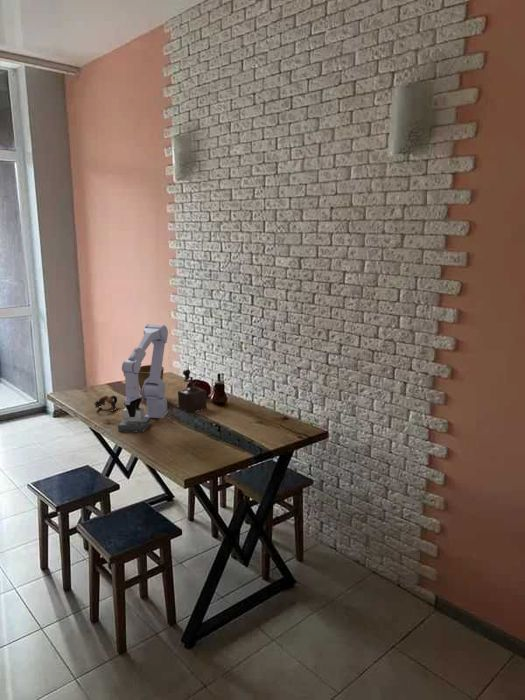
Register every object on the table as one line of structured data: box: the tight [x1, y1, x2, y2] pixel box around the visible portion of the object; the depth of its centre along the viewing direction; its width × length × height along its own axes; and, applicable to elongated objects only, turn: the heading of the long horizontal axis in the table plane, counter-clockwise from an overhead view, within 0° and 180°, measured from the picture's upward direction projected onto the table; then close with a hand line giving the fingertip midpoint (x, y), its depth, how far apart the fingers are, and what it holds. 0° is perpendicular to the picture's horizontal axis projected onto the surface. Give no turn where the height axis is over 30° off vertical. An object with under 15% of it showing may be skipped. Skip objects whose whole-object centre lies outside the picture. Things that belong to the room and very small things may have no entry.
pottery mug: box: [93, 395, 118, 411], centre depth 270 cm, size 12×10×8 cm
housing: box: [122, 407, 145, 420], centre depth 244 cm, size 8×4×5 cm, turn 83°
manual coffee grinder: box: [177, 369, 208, 414], centre depth 271 cm, size 16×11×18 cm
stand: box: [117, 417, 151, 433], centre depth 245 cm, size 11×11×3 cm
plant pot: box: [138, 364, 165, 398], centre depth 288 cm, size 15×15×16 cm
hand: (133, 415), depth 244 cm, fingers closed on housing, 4 cm apart
